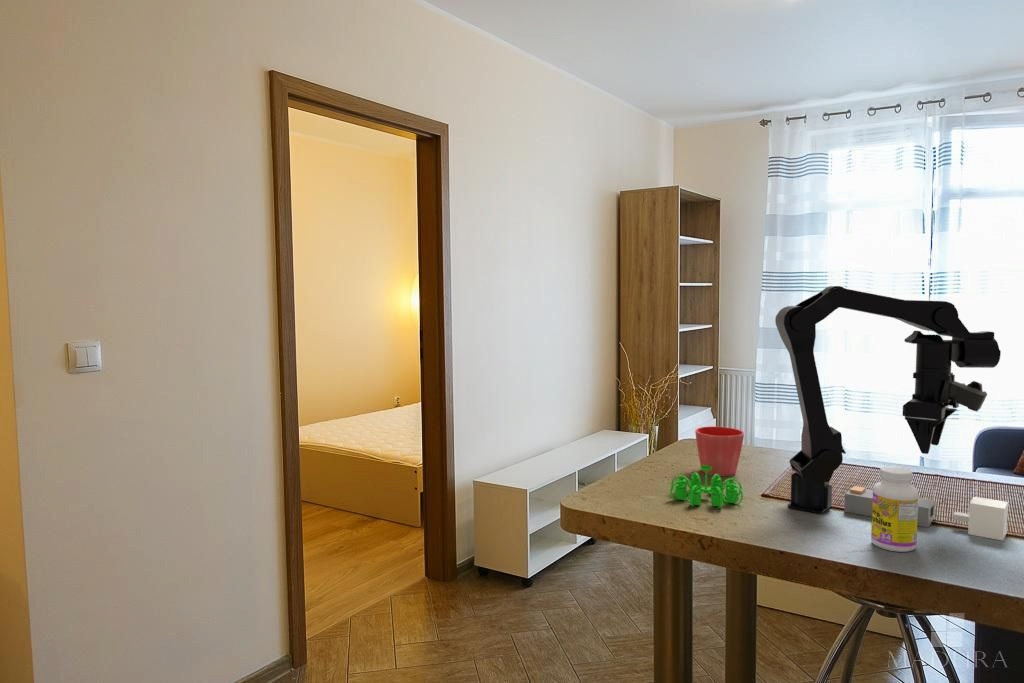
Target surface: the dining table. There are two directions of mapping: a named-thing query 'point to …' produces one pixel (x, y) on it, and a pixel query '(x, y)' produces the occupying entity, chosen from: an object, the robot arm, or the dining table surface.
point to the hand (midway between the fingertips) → (930, 449)
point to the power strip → (862, 500)
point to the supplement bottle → (895, 510)
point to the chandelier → (706, 489)
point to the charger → (985, 518)
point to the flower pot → (719, 449)
